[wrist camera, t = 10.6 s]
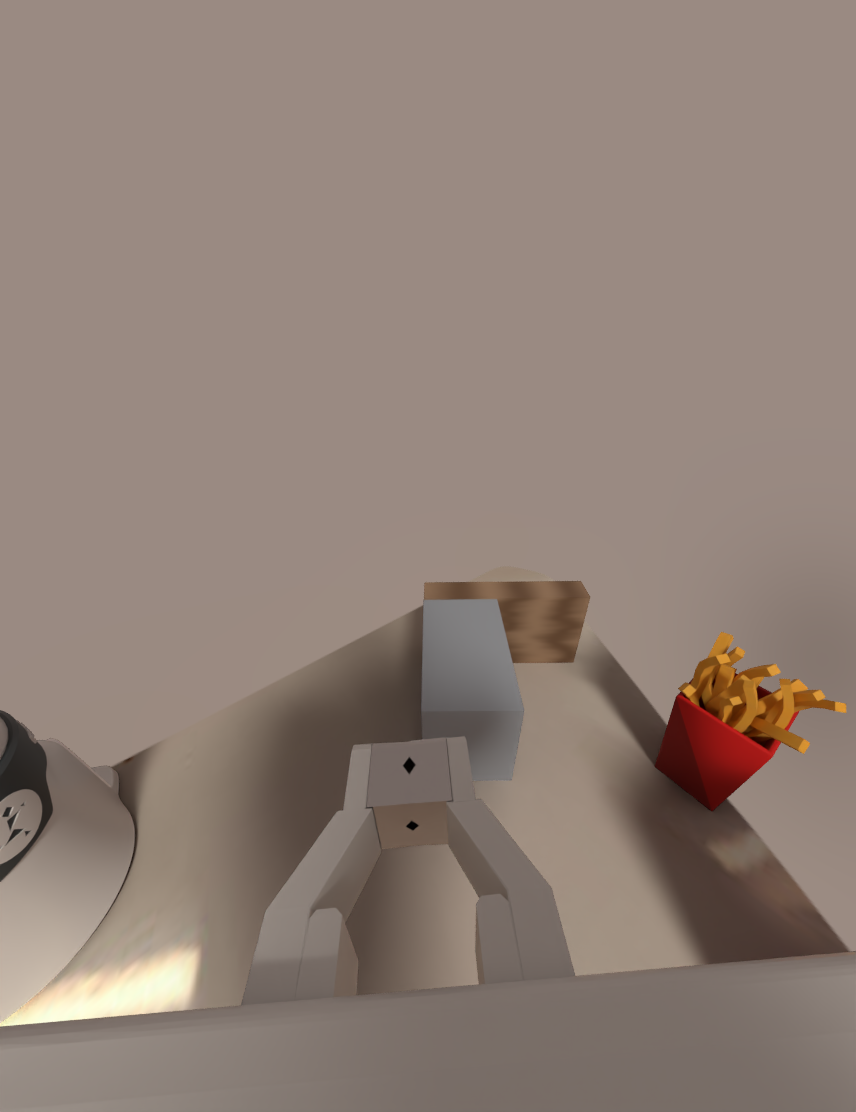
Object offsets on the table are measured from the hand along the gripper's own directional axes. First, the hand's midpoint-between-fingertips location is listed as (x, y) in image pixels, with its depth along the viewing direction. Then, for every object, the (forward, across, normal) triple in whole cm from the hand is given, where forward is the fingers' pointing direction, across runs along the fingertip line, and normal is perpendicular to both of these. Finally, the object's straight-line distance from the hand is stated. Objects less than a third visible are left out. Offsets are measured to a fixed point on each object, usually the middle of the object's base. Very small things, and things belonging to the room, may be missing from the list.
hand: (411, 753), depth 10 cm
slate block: (+21, -4, +25) cm, 33 cm away
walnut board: (+30, -9, +24) cm, 39 cm away
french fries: (+13, -24, +26) cm, 38 cm away
